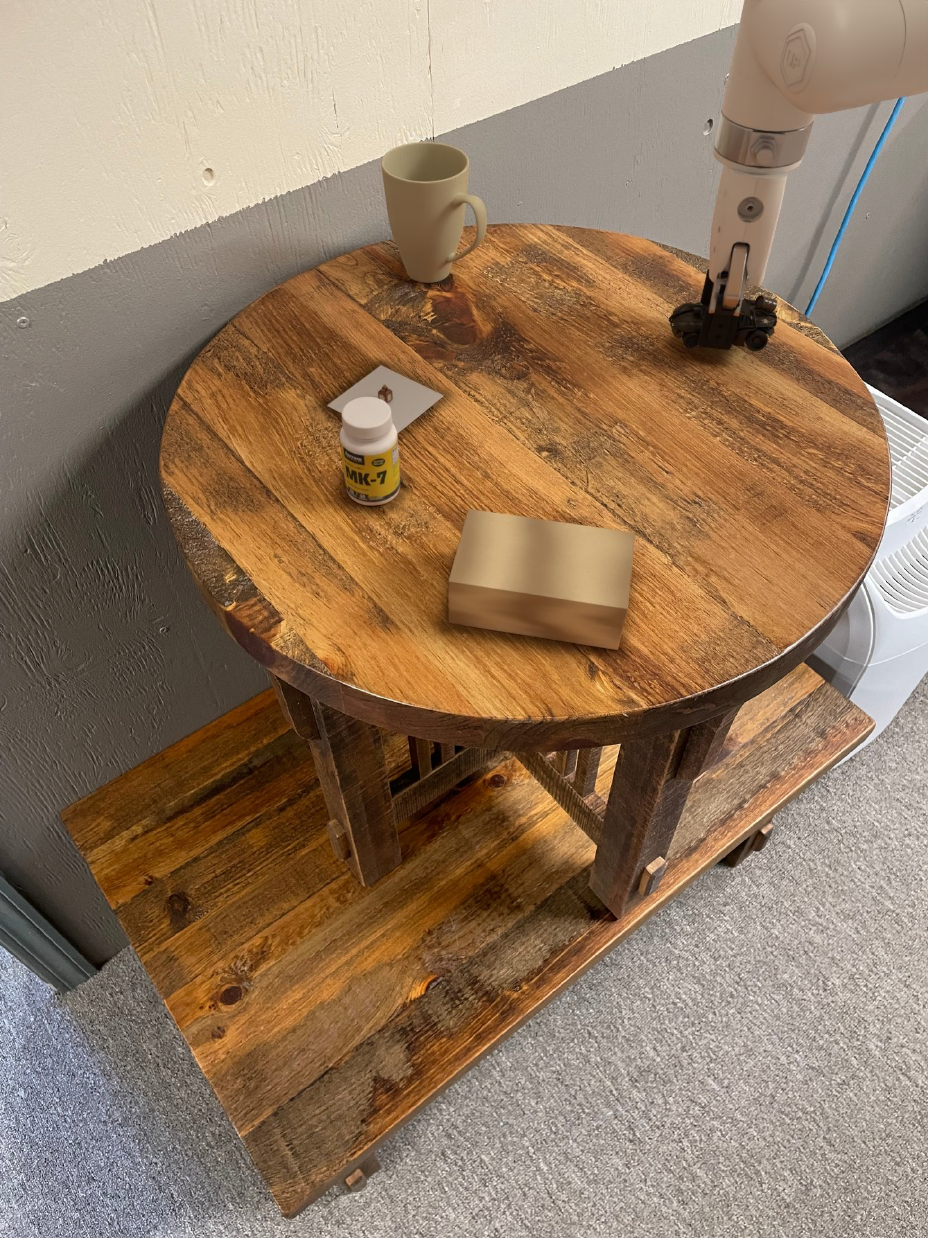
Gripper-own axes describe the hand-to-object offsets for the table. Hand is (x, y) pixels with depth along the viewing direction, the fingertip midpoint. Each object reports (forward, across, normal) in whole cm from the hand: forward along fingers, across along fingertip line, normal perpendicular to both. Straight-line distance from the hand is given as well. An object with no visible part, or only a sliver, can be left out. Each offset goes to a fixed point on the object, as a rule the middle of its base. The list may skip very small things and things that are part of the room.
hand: (714, 325), depth 87 cm
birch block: (+3, -36, +12) cm, 39 cm away
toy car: (+1, 0, 0) cm, 1 cm away
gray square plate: (+3, -15, +30) cm, 34 cm away
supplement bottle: (+3, -27, +28) cm, 39 cm away
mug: (+2, +8, +30) cm, 32 cm away
